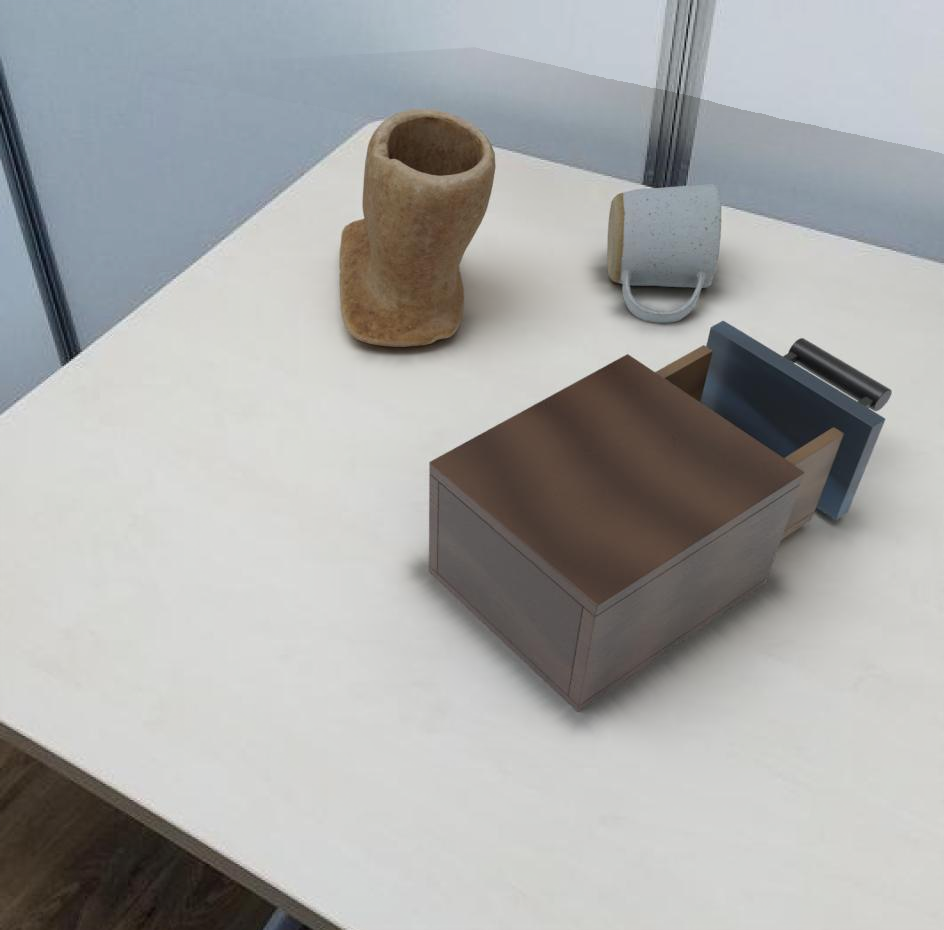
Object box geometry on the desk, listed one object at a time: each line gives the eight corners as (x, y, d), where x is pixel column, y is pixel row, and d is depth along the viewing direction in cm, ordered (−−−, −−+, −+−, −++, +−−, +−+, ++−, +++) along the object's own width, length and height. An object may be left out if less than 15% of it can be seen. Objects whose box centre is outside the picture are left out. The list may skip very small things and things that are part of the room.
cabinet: (608, 468, 78) (627, 353, 70) (764, 587, 70) (805, 472, 63) (428, 574, 72) (428, 461, 65) (577, 715, 65) (597, 605, 57)
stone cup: (491, 356, 86) (502, 173, 75) (337, 360, 87) (324, 180, 76) (480, 245, 96) (488, 69, 85) (341, 250, 97) (331, 76, 86)
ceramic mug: (601, 251, 95) (612, 166, 89) (700, 251, 94) (719, 165, 88) (608, 329, 88) (621, 243, 82) (715, 330, 87) (736, 243, 81)
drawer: (755, 381, 81) (781, 287, 75) (903, 475, 75) (945, 380, 69) (545, 504, 75) (556, 412, 69) (687, 620, 68) (713, 529, 62)
